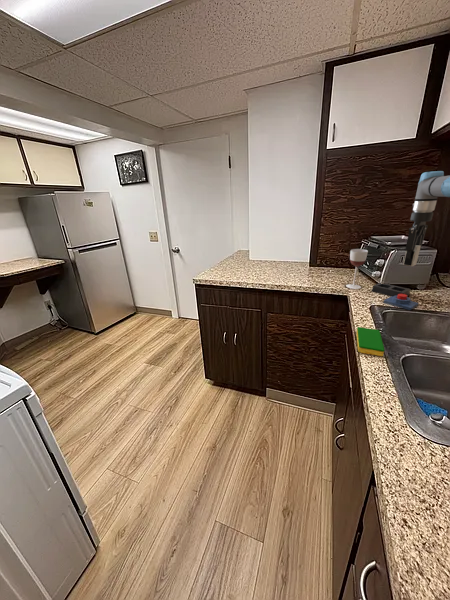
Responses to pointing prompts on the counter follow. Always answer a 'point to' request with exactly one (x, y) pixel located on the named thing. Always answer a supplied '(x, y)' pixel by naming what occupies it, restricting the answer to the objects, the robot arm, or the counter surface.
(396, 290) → the adapter
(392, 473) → the counter surface
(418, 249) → the block
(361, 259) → the wineglass
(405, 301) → the switchbox
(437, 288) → the counter surface
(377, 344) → the dish sponge
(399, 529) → the counter surface
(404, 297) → the switch
